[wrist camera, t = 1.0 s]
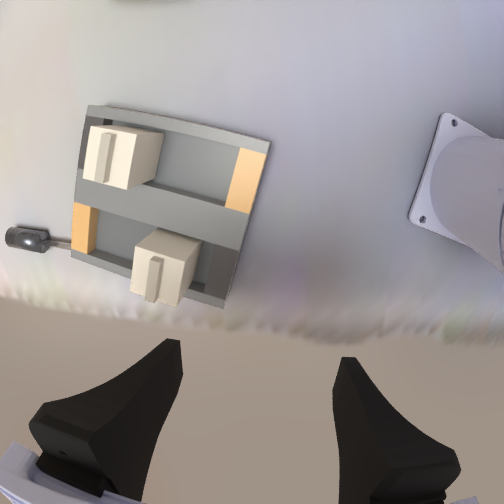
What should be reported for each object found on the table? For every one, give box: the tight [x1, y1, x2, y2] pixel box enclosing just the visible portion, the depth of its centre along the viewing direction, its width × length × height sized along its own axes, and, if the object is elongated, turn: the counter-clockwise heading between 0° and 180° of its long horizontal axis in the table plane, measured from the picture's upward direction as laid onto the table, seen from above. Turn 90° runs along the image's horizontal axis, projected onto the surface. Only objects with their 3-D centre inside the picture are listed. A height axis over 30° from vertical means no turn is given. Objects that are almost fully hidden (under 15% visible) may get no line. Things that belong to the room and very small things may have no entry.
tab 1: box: [83, 125, 165, 190], centre depth 17 cm, size 3×3×5 cm
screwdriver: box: [5, 227, 99, 253], centre depth 23 cm, size 10×2×2 cm, turn 85°
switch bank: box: [71, 105, 271, 309], centre depth 20 cm, size 12×11×2 cm
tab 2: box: [130, 227, 203, 307], centre depth 19 cm, size 3×3×5 cm
